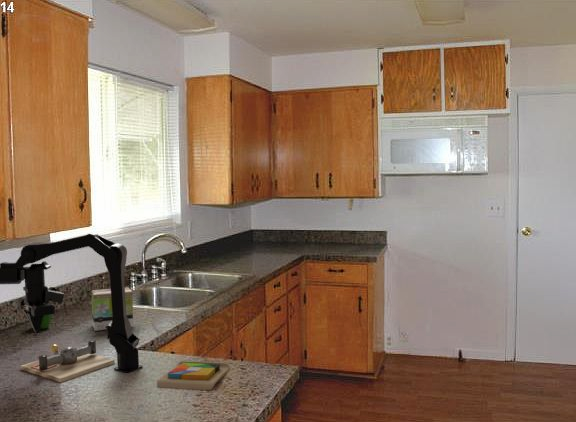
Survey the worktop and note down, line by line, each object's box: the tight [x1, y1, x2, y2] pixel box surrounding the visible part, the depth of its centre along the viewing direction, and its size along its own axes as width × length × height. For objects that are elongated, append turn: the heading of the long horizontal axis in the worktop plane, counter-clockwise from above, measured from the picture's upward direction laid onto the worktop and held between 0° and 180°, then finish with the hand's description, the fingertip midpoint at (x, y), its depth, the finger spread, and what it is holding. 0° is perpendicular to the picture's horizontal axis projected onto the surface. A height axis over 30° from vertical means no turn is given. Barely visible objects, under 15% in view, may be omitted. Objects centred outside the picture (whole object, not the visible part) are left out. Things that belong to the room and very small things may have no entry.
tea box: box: [91, 287, 134, 332], centre depth 235 cm, size 15×10×15 cm, turn 114°
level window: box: [31, 364, 57, 371], centre depth 185 cm, size 6×6×1 cm
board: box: [20, 353, 116, 383], centre depth 189 cm, size 21×20×1 cm
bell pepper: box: [31, 314, 52, 330], centre depth 234 cm, size 8×8×10 cm
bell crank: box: [38, 339, 97, 370], centre depth 190 cm, size 11×20×5 cm, turn 145°
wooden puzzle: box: [156, 360, 231, 391], centre depth 177 cm, size 18×19×4 cm
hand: (37, 332), depth 183 cm, fingers closed
